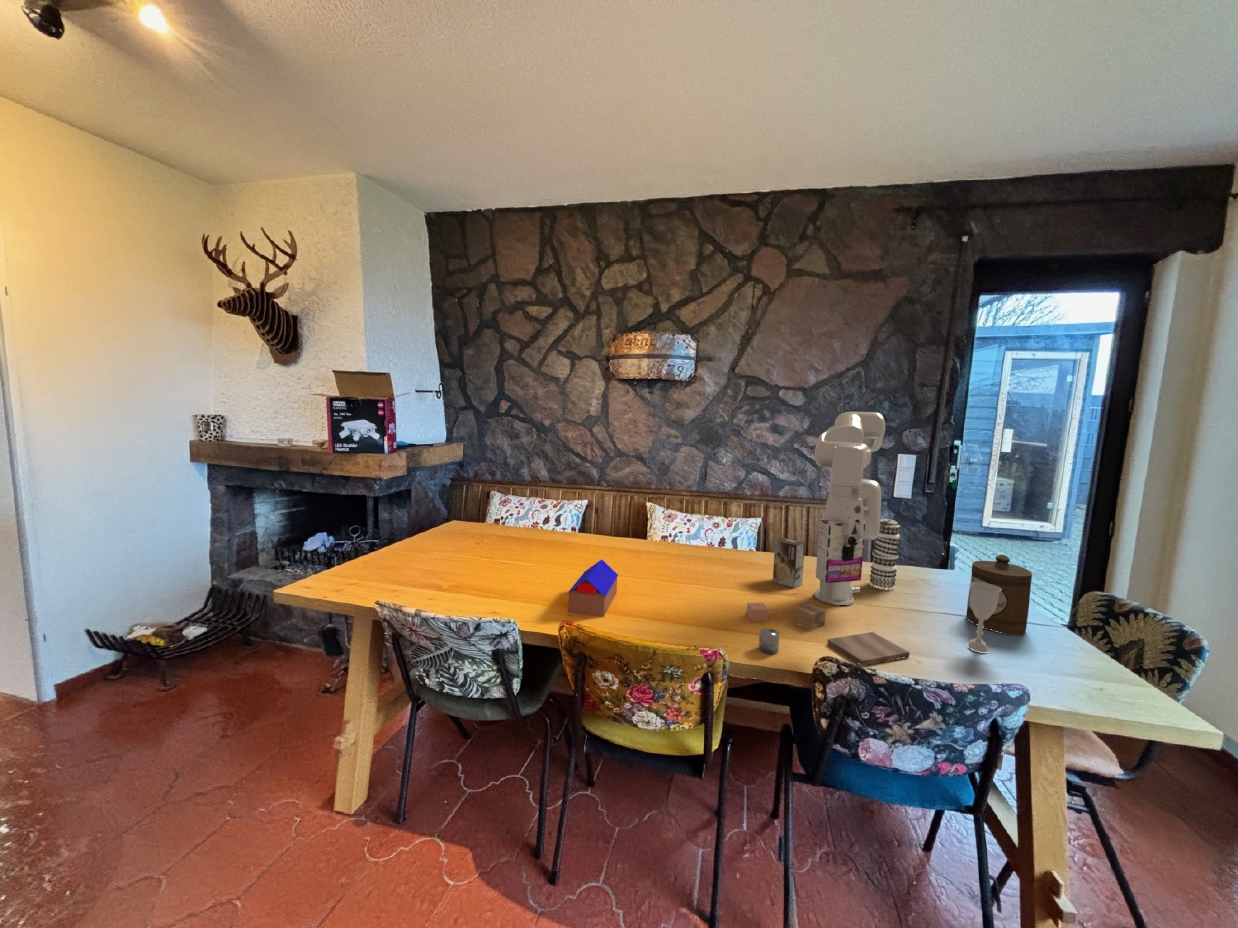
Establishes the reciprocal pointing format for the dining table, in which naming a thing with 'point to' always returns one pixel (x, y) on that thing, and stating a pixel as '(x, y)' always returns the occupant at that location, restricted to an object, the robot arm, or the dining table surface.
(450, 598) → the dining table surface
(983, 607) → the chalice
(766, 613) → the terracotta block
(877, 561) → the decorative candle
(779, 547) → the coffee box
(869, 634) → the walnut board
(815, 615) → the dark oak block
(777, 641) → the grey metal cylinder
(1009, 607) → the wooden container
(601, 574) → the house
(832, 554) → the candy bar box
